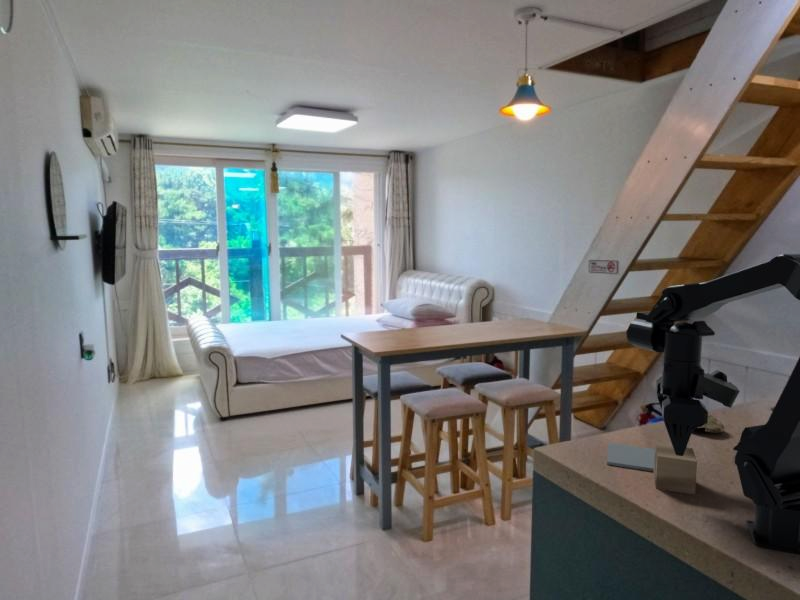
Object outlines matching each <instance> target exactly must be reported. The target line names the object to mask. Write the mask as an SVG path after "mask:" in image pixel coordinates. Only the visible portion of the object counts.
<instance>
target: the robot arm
mask: <svg viewBox="0 0 800 600" xmlns="http://www.w3.org/2000/svg"><path fill="white" fill-rule="evenodd" d="M783 287H784V288H785V289H786V290H787V291H788V292H789V293H790V294H791V295H792V297H794V298H795V299H796V300H798V301H800V253H783V254H778V255H776V256H775V257H773V258H772V259H769V260H766V261H763V262H761V263H760V262H759V263H757V264H755V265H752V266H748V267H746V268H745V267H744V268H743V269H740V270H737V271H734V272H731V273H728V274H725V275H723V276H720V277H717V278H716V277H715V278H714V279H711V280H707V281H704V282H695V283H687V284H685V283H684V284H678V285H671V286H670V285H669V286H666V287H665V288H664V289H663V290H662V291H661V295H660V297H659V299H658V300H657V302H655V303H656V304H654V306H653V308H652V309H651V310H650V311H637V312H636V315H635V318H634V319H633V320H631V322H630V323H629V325H628V328H627V329H626V339H627V342H629V344H630V345H631V346H633V347H636V348H641V349H643V350H648V351H651V352H655V353H662V355H663V357H662V359H661V368H662V372H661V373H662V374H661V376H660V377H659V378H657V379H656V380H655V391H656V398H657V400H658V403H659V407H660V409H661V417H662V420H663V422H664V425H665V428H666V432H667V434H668V437H669V440H670V442H671V446H673V448H674V451H675V454H676V455H678V456H683V455H684V452H685V450H686V448H688V447H687V446H688V444H689V441H690V438H691V435H692V434H693V431H694V430H697V429H699V428H698V427H702V426H704V425H705V424H707V422H708V413H709V411H708V409H707V407H706V405H705V404H704V403H703V402H701V400H704V397H705V398H708V399H711V400H713V401H715V402H718V403H720V404H722V405H723V406H725V407H726V408H732V406H733V405H734V403H735V402H736V399H737V398H738V396H739V394H740V393H741V390H740V389H739V388H738V387H737V386H736V385H735V384H733V383H732V382H730V381H729V382H728V376H727V374H726V373H725V372H723V371H720V370H718V369H716V370H715V371H712V373H706V372H705V370H704V368H703V367H702V365H701V364H702V347H703V337H712V336H713V337H714V336H715V334H716V332H715V331H714V330H713V329H712V328H711V327H710V326H709V325H708V324H707V322H706V321H705V320H695V321H693V322H692V323H690V321H691V320H694V319H703V318H706V317H707V316H710V315H711V314H713V313H716V312H717V311H718V312H719V310H720V309H721V308H722V307H723V306H724V305H726V304H728V303H733V302H735V301H739V300H742V299H745V298H750V297H753V296H756V295H759V294H763V293H766V292H771V291H773V290H777V289H780V288H783ZM782 389H783V390H782V391H781V394H780V395H779V398H778V400H777V402H776V404H775V406H774V408H773V410H772V412H771V413H770V416H769V418H768V419H767V422H766V423H765V424H758V425H752V426H747V427H744V429H743V430H742V431H741V433H740V438H739V441H738V443H737V444H736V445H735V446H734V447H733V450H734V451H736V452H735V455H734V464H735V466H736V468H737V472H738V476H739V481H740V485H741V489H742V493H743V496H744V497H745V498H748V499H750V500H751V501H752V502H753V504H754V505H755V506H754V516H753V519H754V520H746V522H745V525H746V526H747V529H748V531H749V533H750V535H751V538H752V540H753V542H754V544H755V545H756V546H757V547H761V548H767V549H771V550H778V551H783V552H788V553H792V554H799V555H800V356H799V357H798V359H797V361H796V362H795V365H794V366H793V369H792V371H791V373H790V376H788V380H787V381H786V383H785V386H784V387H783V388H782Z"/></svg>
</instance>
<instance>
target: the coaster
mask: <svg viewBox="0 0 800 600" xmlns="http://www.w3.org/2000/svg"><path fill="white" fill-rule="evenodd" d="M606 456H607V459H606V460H607V461H606V465H607V466H614V467H623V468H627V469H635V470H640V471H641V470H642V471H646V472H647V471H648V472H653V473H654V458H655V448H650V447H641V446H634V445H628V444H620V443H613V442H607V455H606Z"/></svg>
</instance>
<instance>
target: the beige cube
mask: <svg viewBox="0 0 800 600" xmlns="http://www.w3.org/2000/svg"><path fill="white" fill-rule="evenodd" d="M654 449H655V458H654V472H653V479H654V486H655V489H657V490H662V491H663V490H664V491H669V492H676V493H682V494H689V495H696V487H697V486H696V483H697V473H698V472H697V470H698V459H697V456H696V455H695V451H694V448H693V447H686V450H685V452H684V455H683V456H678V455H676V454H675V451H674V448H673V445H672V444H663V443H655V446H654Z"/></svg>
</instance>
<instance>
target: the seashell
mask: <svg viewBox="0 0 800 600" xmlns="http://www.w3.org/2000/svg"><path fill="white" fill-rule="evenodd" d="M702 428H703V429H705V430H704V432H706V433H710V434H711V433H713V434H714V433H721V432H722V433H723V432H724V431H725V430H726V427H725V425H724V423H722V421H721V420H719V419H717V418H716V417H715V416H714V415H712V414H711V413H709V412H708V422H707V424H705V425H704V426H702V427H698V428H697V429H702Z"/></svg>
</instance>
